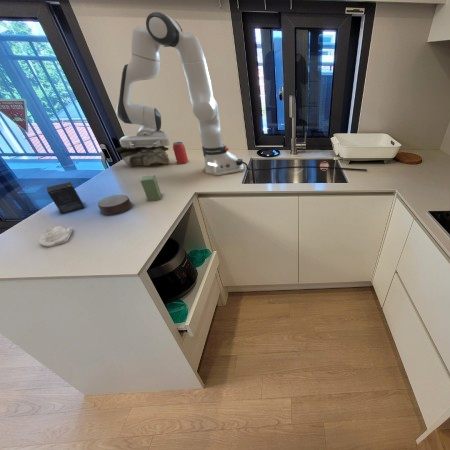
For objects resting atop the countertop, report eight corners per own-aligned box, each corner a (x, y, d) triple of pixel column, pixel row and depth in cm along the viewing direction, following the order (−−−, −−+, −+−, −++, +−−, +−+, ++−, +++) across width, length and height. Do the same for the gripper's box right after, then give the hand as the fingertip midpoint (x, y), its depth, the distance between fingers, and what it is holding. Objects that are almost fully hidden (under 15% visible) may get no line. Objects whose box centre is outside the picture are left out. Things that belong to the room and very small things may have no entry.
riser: (134, 201, 110) (131, 193, 108) (129, 212, 101) (125, 204, 99) (106, 204, 107) (102, 196, 105) (98, 217, 98) (93, 208, 96)
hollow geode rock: (124, 174, 148) (110, 162, 134) (123, 155, 150) (109, 142, 136) (173, 168, 154) (165, 157, 140) (171, 150, 156) (162, 137, 142)
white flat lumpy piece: (76, 224, 86) (43, 239, 78) (82, 234, 88) (51, 250, 81) (60, 218, 89) (26, 232, 82) (66, 228, 91) (34, 242, 84)
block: (161, 194, 115) (154, 175, 110) (160, 199, 112) (153, 179, 106) (150, 196, 114) (142, 176, 108) (148, 201, 110) (140, 180, 105)
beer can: (190, 160, 155) (185, 141, 149) (185, 164, 150) (180, 144, 143) (180, 160, 156) (175, 141, 149) (175, 163, 151) (169, 144, 144)
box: (83, 203, 108) (70, 181, 102) (84, 208, 104) (72, 185, 98) (60, 209, 103) (46, 186, 97) (61, 214, 100) (46, 191, 94)
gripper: (120, 131, 116) (114, 139, 105) (167, 130, 123) (166, 138, 112) (124, 145, 119) (119, 154, 109) (170, 143, 126) (169, 151, 116)
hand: (144, 145), depth 111 cm, fingers open, 8 cm apart
